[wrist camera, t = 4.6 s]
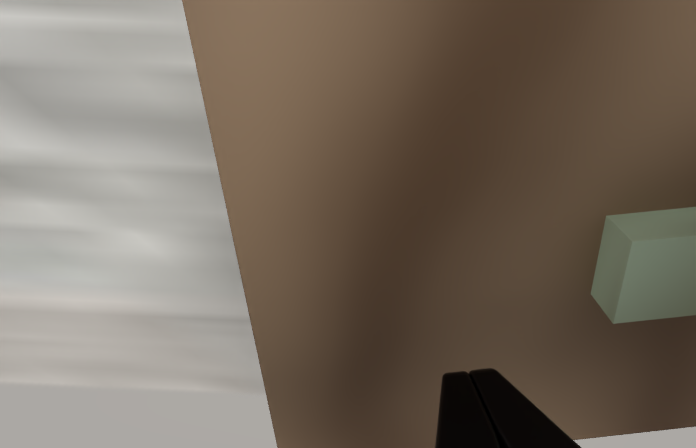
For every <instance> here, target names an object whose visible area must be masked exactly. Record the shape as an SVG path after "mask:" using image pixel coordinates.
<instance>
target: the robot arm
mask: <svg viewBox="0 0 696 448" xmlns="http://www.w3.org/2000/svg"><path fill="white" fill-rule="evenodd" d="M435 448H581V447H580V446H579V445H578V444H577V443H575V442H574V441H573V440H572V439H571V438H570V437H569V436H568V435H567V434H566V433H565V432H564V431H562V430H561V429H560V428H559V427H558V426H557V425H556V424H555V423H554V422H553V421H552V420H550V419H549V418H548V417H547V416H546V415H545V414H544V413H543V412H542V411H541V410H540V409H539V408H537V407H536V406H535V405H534V404H533V403H532V402H531V401H530V400H529V399H528V398H527V397H525V396H524V395H523V394H522V393H521V392H520V391H519V390H518V389H517V388H516V387H515V386H513V385H512V384H511V383H510V382H509V381H508V380H507V379H506V378H505V377H504V376H503V375H502V374H500V373H499V372H498V371H497V370H495V369H493V368H485V369H476V370H471V371H470V372H469V374H468V373H467V372H466V371H458V372H449V373H445V374H443V376H442V383H441V393H440V403H439V413H438V423H437V433H436V443H435Z"/></svg>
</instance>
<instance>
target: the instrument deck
mask: <svg viewBox="0 0 696 448" xmlns="http://www.w3.org/2000/svg"><path fill="white" fill-rule="evenodd" d="M182 2H183V6H184V11H185V16H186V20H187V25H188V30H189V34H190V39H191V44H192V48H193V53H194V58H195V62H196V67H197V72H198V77H199V81H200V86H201V91H202V95H203V100H204V105H205V109H206V114H207V119H208V123H209V128H210V133H211V138H212V142H213V147H214V152H215V156H216V161H217V166H218V170H219V175H220V180H221V184H222V189H223V194H224V199H225V203H226V208H227V213H228V217H229V222H230V227H231V231H232V236H233V241H234V245H235V250H236V255H237V259H238V264H239V269H240V274H241V278H242V283H243V288H244V292H245V297H246V302H247V306H248V311H249V316H250V320H251V325H252V330H253V335H254V339H255V344H256V349H257V353H258V358H259V363H260V367H261V372H262V377H263V381H264V386H265V391H266V395H267V400H268V405H269V410H270V414H271V419H272V424H273V428H274V433H275V437H276V442H277V447H278V448H435V443H436V433H437V423H438V413H439V403H440V393H441V383H442V376H443V374H445V373H449V372H458V371H466V372H467V373H468V374H469V372H470V371H471V370H476V369H485V368H493V369H495V370H497V371H498V372H499V373H500V374H502V375H503V376H504V377H505V378H506V379H507V380H508V381H509V382H510V383H511V384H512V385H513V386H515V387H516V388H517V389H518V390H519V391H520V392H521V393H522V394H523V395H524V396H525V397H527V398H528V399H529V400H530V401H531V402H532V403H533V404H534V405H535V406H536V407H537V408H539V409H540V410H541V411H542V412H543V413H544V414H545V415H546V416H547V417H548V418H549V419H550V420H552V421H553V422H554V423H555V424H556V425H557V426H558V427H559V428H560V429H561V430H562V431H564V432H565V433H566V434H567V435H568V436H569V437H570V438H571V439H572V440H578V439H586V438H596V437H605V436H613V435H623V434H632V433H641V432H650V431H658V430H668V429H677V428H685V427H694V426H696V0H182Z"/></svg>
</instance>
